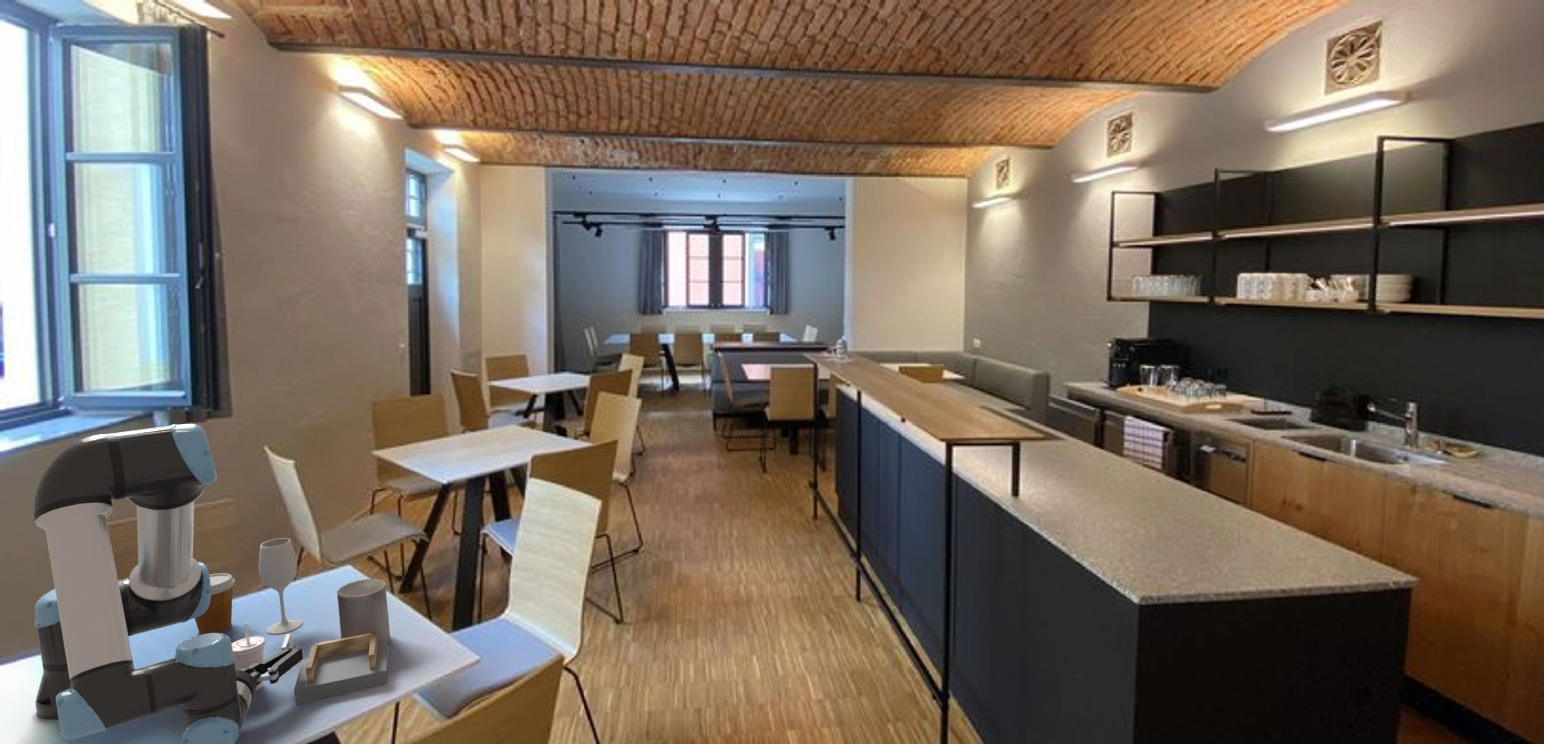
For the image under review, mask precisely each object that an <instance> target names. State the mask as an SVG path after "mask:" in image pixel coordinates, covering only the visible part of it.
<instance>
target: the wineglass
mask: <svg viewBox="0 0 1544 744" xmlns="http://www.w3.org/2000/svg"><path fill="white" fill-rule="evenodd" d="M297 572H298V561H297V557H296V553H295V549H294V546H293V543H292V541H291V539H290V538H286V537H283V538H281V537H279V538H273V539H270V540H267V541H264V542H262V543H261V544H260V546H259V553H258V575H259V579H260V580H261V582H262V583H263V584H264V585H265V586H267V587H268V588H270V589H272V590H274V591H276V592H277V594H278V596H279V597H278V598H279V603H280V604H279V605H280V613H281V614H280V615H281V620H280V621H279V622H275V623H273V624H272V625H270V626H268V627H267V628H266V633H267V634H269V635H282V634H288V633H290V632H293V631H295V630H297V629H300V627H302V625H303V620H300V619H287V617H286V609H285V602H284V591H285V589H286V588H287V587H288V586H289V585H290V584H291V583H292V582H293V581H294V579H296V576H297Z"/></svg>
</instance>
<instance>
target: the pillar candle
mask: <svg viewBox="0 0 1544 744" xmlns="http://www.w3.org/2000/svg"><path fill="white" fill-rule="evenodd" d="M386 587H387V582H385V581H384V580H383V579H379V578H378V579H377V578H367V579H360V580H356V581H353V582H349V583H346V584H344V585H343V586H341V587H340V588H339V589H337V591H336V594H337V604H338V605H337V606H338V616H339V625H340V626H339V628H340V629H339V630H340V639H342V638H347V637H352V636H357V635H363V634H368V633H373V632H376V633H377V643H378V645H380V644H385V643H388V644H389V643H390V641H391V633H390V621H389V619H390V618H389V610H388V600H387V599H388V598H387V588H386Z"/></svg>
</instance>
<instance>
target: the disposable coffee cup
mask: <svg viewBox="0 0 1544 744" xmlns="http://www.w3.org/2000/svg"><path fill="white" fill-rule="evenodd" d="M209 576H210V582H211V589H210V592H211V599H210V604H209V607H208V609H207V611H206V612H205V613H204V614H203V615H201V616H199V617H196V618H194V619H195V624H196V628H197V631H198V633H199V635H202V634H208V633H222V632H223V631H225V630H226V631H227V630H228V629H229V628H231V626H232V616H233V613H232V611H233V590H234V589H233V588H234V587H233V586H234V584H235V582H236V581H235V579H234V578H233V576H232V574H229V573H224V572H223V573H212V574H209Z"/></svg>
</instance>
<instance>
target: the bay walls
mask: <svg viewBox="0 0 1544 744" xmlns="http://www.w3.org/2000/svg"><path fill="white" fill-rule="evenodd" d="M377 646H378V643H377V633H376V632H373V633H368V634H363V635H357V636H352V637H347V638H342V639H341V638H337V639H332V640H327V641H322V642H317V643H312V644H311V647H310V651H309V656H308V658H307V659H308V662H307V665H306V676H307V682H312V681H313V680H314V676H315V672H316V668H317V664H318V660H319V658H324V657H329V656H334V655H339V654H344V653H349V652H354V651H359V650H364V649H369V666H370V669H374V668H375V667H376V657H377Z"/></svg>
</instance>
